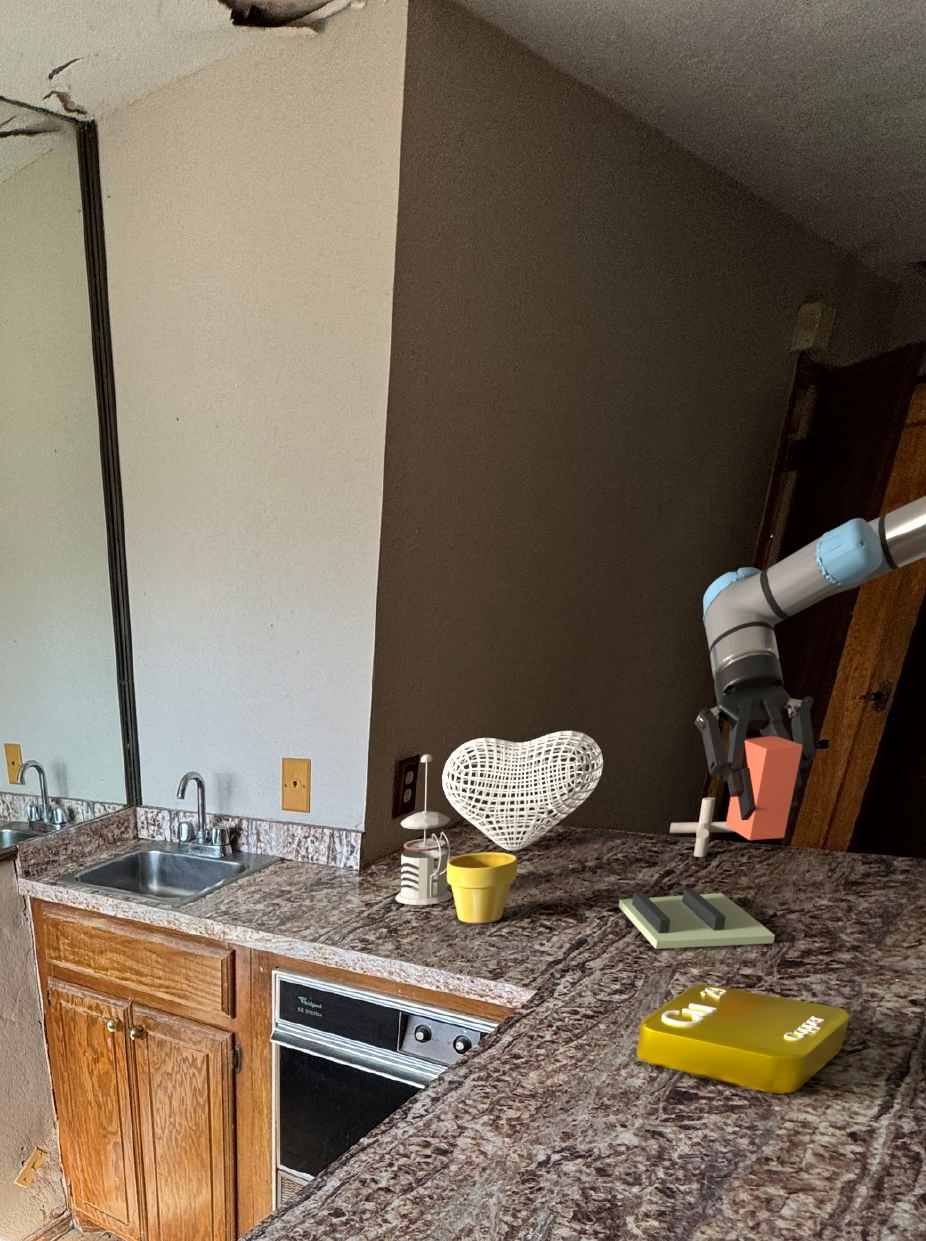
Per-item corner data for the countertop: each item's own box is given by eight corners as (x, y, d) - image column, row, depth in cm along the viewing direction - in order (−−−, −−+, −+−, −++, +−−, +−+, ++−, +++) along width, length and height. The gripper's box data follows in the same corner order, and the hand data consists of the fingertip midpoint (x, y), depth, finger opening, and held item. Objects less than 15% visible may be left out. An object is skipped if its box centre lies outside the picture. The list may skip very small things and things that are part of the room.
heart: (594, 838, 177) (606, 721, 168) (593, 858, 166) (607, 734, 156) (445, 843, 191) (448, 735, 181) (434, 862, 179) (438, 748, 169)
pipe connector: (664, 862, 157) (672, 805, 153) (669, 848, 164) (676, 793, 160) (733, 862, 151) (743, 803, 147) (735, 847, 158) (745, 791, 154)
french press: (434, 885, 165) (438, 746, 155) (469, 900, 155) (476, 752, 144) (385, 895, 165) (385, 756, 154) (417, 910, 154) (420, 763, 143)
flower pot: (448, 908, 153) (450, 852, 149) (515, 907, 148) (518, 849, 144) (442, 927, 145) (444, 869, 141) (512, 927, 140) (516, 867, 136)
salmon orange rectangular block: (758, 823, 127) (775, 735, 121) (784, 837, 119) (803, 745, 114) (725, 825, 128) (740, 738, 123) (749, 840, 120) (766, 748, 115)
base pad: (720, 900, 137) (724, 880, 136) (773, 943, 120) (778, 921, 119) (618, 906, 141) (620, 887, 140) (655, 949, 124) (658, 927, 123)
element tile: (789, 1099, 87) (799, 1056, 85) (628, 1059, 99) (633, 1020, 96) (847, 1046, 94) (858, 1005, 92) (690, 1014, 106) (696, 977, 104)
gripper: (806, 680, 126) (832, 822, 119) (668, 697, 131) (686, 833, 125) (831, 641, 119) (861, 789, 113) (685, 660, 125) (705, 803, 118)
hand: (769, 812), depth 119 cm, fingers closed on salmon orange rectangular block, 4 cm apart
